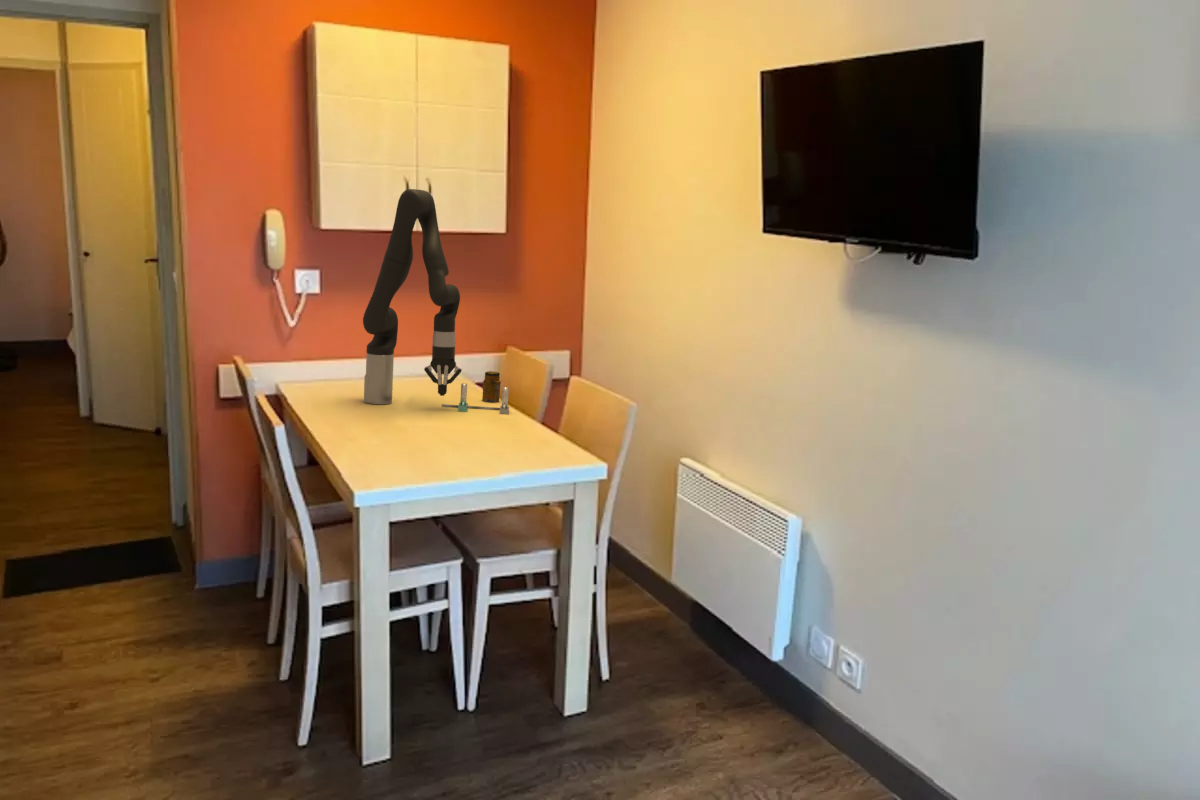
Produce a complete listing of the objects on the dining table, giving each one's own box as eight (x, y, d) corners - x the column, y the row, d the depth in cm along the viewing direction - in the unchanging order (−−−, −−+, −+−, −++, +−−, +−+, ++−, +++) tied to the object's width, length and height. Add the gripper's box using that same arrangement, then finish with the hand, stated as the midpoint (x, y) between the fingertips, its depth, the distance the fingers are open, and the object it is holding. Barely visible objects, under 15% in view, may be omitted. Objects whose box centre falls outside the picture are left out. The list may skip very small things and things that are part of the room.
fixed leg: (499, 414, 317) (501, 388, 315) (500, 411, 322) (501, 385, 320) (508, 415, 317) (510, 389, 315) (508, 412, 322) (510, 386, 320)
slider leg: (457, 411, 316) (459, 385, 314) (459, 408, 320) (460, 382, 319) (466, 411, 316) (468, 385, 314) (467, 408, 321) (469, 382, 319)
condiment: (493, 402, 342) (495, 370, 339) (506, 407, 335) (508, 374, 333) (476, 404, 337) (478, 371, 335) (489, 408, 331) (491, 375, 328)
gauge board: (436, 418, 309) (436, 411, 309) (440, 409, 323) (440, 403, 323) (509, 422, 311) (509, 416, 311) (510, 413, 325) (510, 407, 325)
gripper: (422, 344, 309) (421, 396, 312) (462, 347, 310) (461, 398, 313) (425, 342, 316) (423, 392, 320) (464, 344, 317) (462, 394, 321)
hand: (442, 395), depth 316 cm, fingers closed
